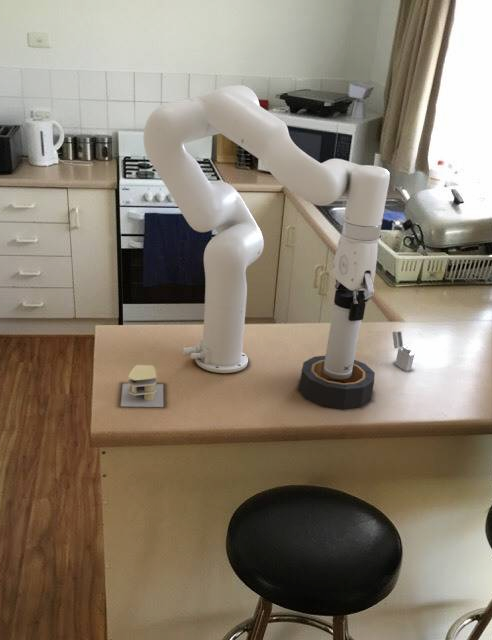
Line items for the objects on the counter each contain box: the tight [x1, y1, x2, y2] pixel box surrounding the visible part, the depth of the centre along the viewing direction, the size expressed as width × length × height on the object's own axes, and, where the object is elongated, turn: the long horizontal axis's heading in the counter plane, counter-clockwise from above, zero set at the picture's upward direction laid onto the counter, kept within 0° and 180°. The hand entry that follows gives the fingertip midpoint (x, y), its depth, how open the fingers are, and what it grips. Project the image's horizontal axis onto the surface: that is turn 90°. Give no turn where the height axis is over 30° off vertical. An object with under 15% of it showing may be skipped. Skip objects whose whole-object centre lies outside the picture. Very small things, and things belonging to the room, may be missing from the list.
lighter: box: [391, 330, 415, 372], centre depth 170 cm, size 7×2×8 cm, turn 28°
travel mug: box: [324, 287, 362, 380], centre depth 151 cm, size 6×7×20 cm
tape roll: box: [298, 355, 376, 410], centre depth 157 cm, size 16×16×5 cm
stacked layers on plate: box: [120, 364, 164, 408], centre depth 149 cm, size 10×9×6 cm
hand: (347, 312), depth 148 cm, fingers closed on travel mug, 6 cm apart
